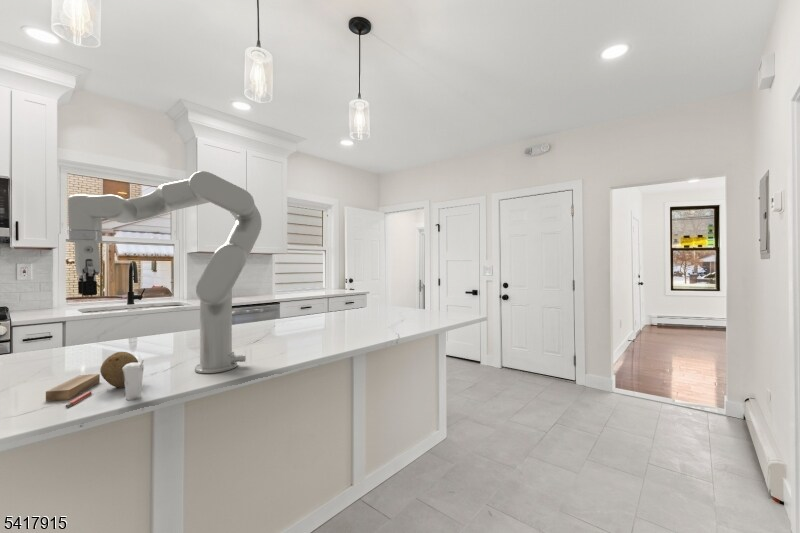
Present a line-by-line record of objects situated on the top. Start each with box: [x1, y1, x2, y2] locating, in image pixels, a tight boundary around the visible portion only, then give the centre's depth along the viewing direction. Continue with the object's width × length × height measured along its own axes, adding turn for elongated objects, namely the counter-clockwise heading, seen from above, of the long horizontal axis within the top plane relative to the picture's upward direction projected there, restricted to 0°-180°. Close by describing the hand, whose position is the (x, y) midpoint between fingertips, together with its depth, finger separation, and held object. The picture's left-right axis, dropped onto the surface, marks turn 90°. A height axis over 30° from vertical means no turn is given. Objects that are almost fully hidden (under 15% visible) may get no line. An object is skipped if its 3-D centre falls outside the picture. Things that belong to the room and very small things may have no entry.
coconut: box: [99, 351, 139, 388], centre depth 103 cm, size 9×9×10 cm
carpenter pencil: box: [64, 391, 92, 409], centre depth 92 cm, size 1×9×1 cm, turn 14°
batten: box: [45, 373, 101, 402], centre depth 100 cm, size 5×14×2 cm, turn 14°
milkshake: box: [122, 359, 145, 401], centre depth 94 cm, size 4×5×10 cm
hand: (87, 294), depth 108 cm, fingers open, 9 cm apart
